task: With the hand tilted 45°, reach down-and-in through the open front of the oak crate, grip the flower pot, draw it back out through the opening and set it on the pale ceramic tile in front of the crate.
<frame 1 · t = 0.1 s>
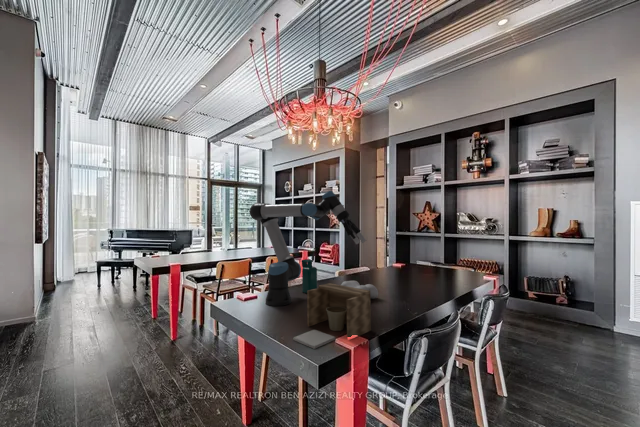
hand: (361, 242, 166), 36 cm above the table, tool tilted 35°, fingers open, 13 cm apart
tile: (314, 339, 115), on the table
torso sculpture: (356, 296, 186), on the table
dark green bottle: (309, 292, 197), on the table
flower pot: (336, 329, 127), on the table
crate: (337, 328, 127), on the table
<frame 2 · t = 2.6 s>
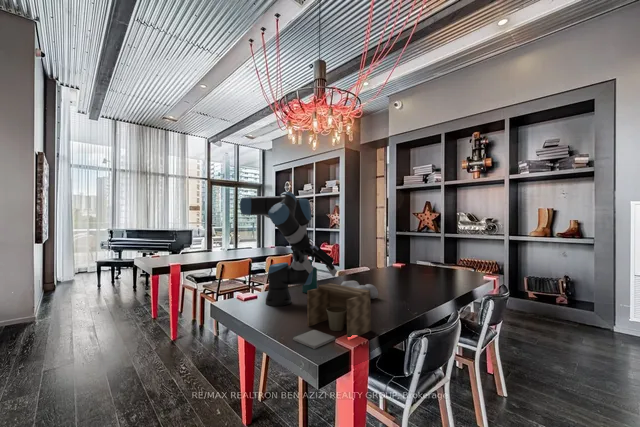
hand: (322, 272, 121), 26 cm above the table, tool tilted 45°, fingers open, 13 cm apart
nothing on the table moved.
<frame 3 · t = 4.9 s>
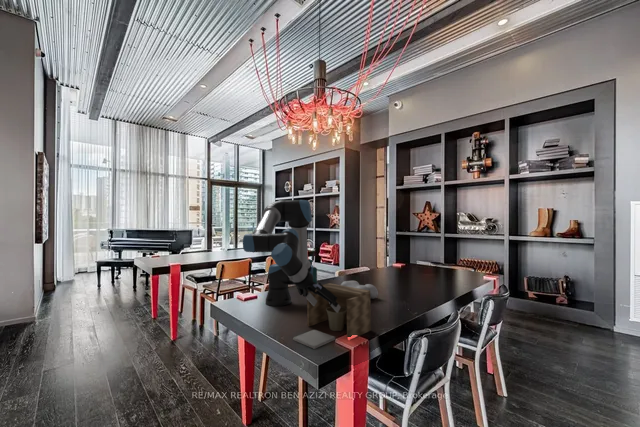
hand: (326, 306, 122), 11 cm above the table, tool tilted 45°, fingers open, 13 cm apart
nothing on the table moved.
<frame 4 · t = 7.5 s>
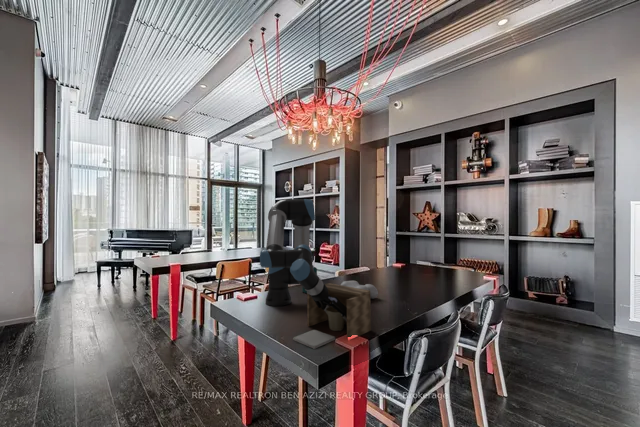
hand: (341, 318, 129), 4 cm above the table, tool tilted 45°, fingers closed on flower pot, 9 cm apart
flower pot: (336, 329, 127), on the table, touching gripper
everything else where it was.
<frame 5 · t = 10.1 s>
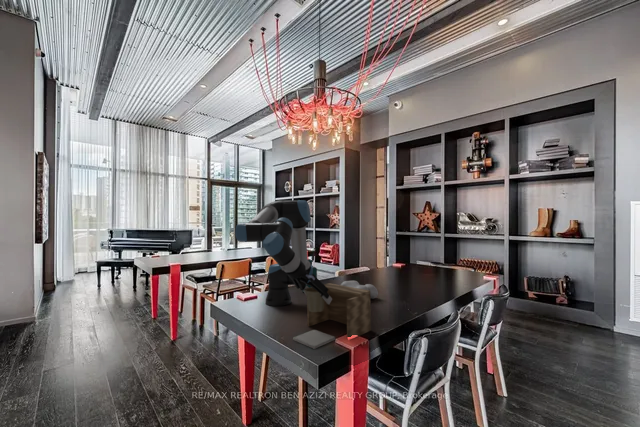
hand: (321, 299, 120), 15 cm above the table, tool tilted 45°, fingers closed on flower pot, 9 cm apart
flower pot: (316, 310, 118), point 11 cm above the table, touching gripper
everything else where it was.
when the fingers open (6 cm above the table, at t = 12.7 s): flower pot stays where it is, resting on tile.
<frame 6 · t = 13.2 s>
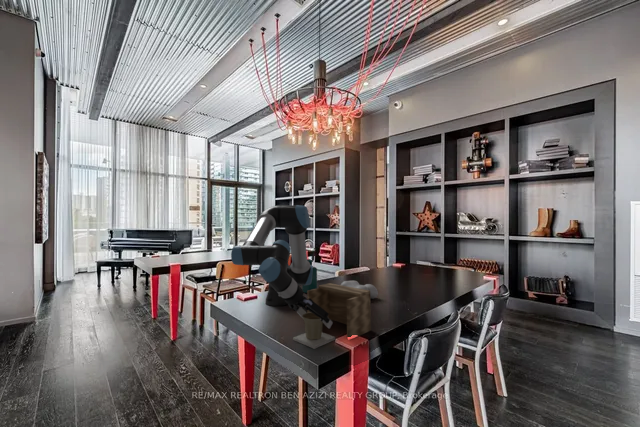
hand: (318, 321, 117), 7 cm above the table, tool tilted 45°, fingers open, 13 cm apart
flower pot: (313, 337, 115), point 1 cm above the table, touching tile
everything else where it was.
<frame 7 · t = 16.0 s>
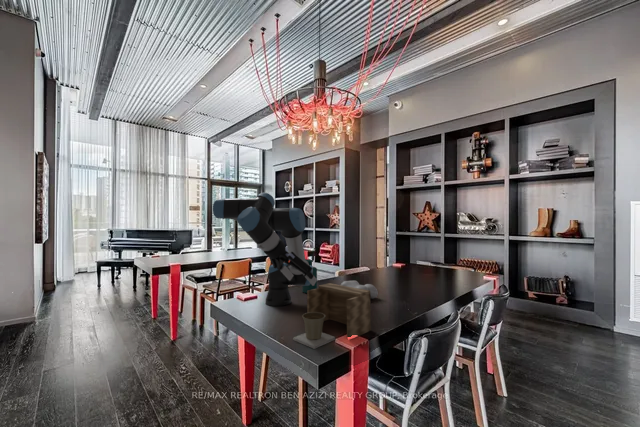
hand: (302, 280, 112), 25 cm above the table, tool tilted 45°, fingers open, 13 cm apart
nothing on the table moved.
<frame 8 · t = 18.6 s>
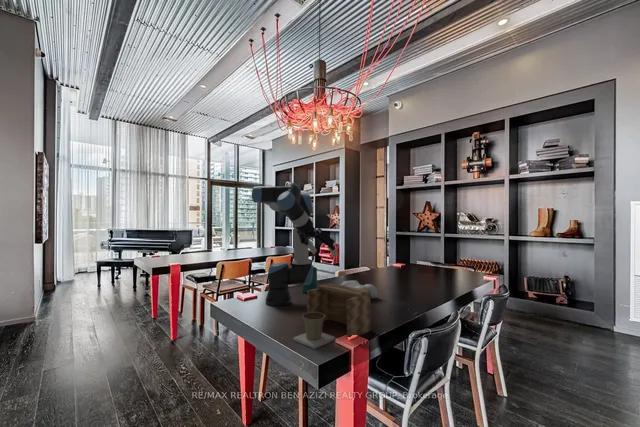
hand: (325, 253, 138), 33 cm above the table, tool tilted 45°, fingers open, 13 cm apart
nothing on the table moved.
at the end: flower pot inside the target area on the tile (0.1 cm from its centre), point 0.8 cm above the tile's base; flower pot tilted 0°; the gripper is holding nothing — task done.
